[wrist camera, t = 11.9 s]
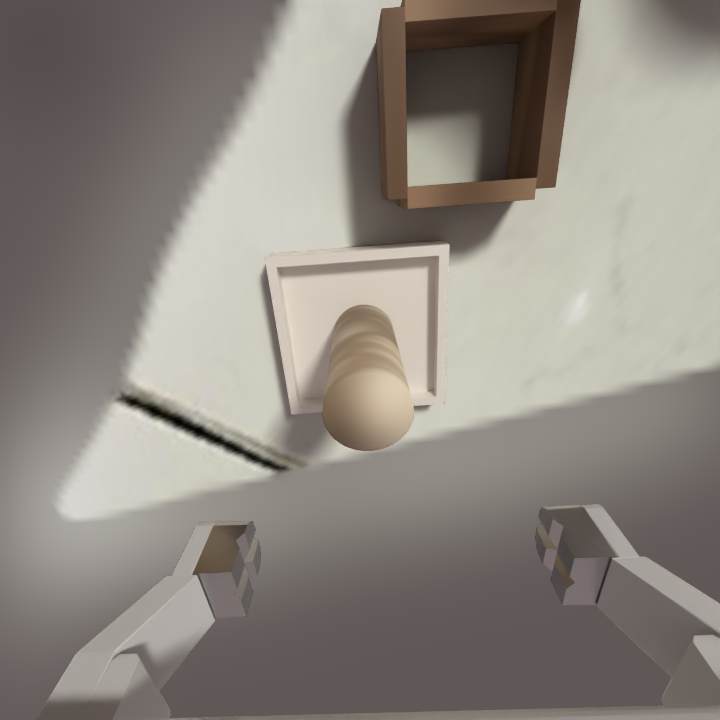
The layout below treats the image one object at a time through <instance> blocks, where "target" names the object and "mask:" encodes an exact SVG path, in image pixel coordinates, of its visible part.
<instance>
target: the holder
mask: <svg viewBox="0 0 720 720" xmlns="http://www.w3.org/2000/svg"><path fill="white" fill-rule="evenodd" d="M580 2H581V0H402V3H401V7H395V8H383V9H381V15H380V21H379V27H378V32H377V38H376V57H377V82H378V107H379V133H380V158H381V183H382V198H384V199H387V200H391V199H399V206H401V207H404V208H407V209H412V208H426V207H439V206H452V205H466V204H479V203H493V202H506V201H520V200H533V199H534V198H535V190H536V189H538V188H552V187H555V186H556V179H557V171H558V164H559V157H560V149H561V142H562V135H563V127H564V120H565V113H566V105H567V98H568V90H569V83H570V76H571V68H572V61H573V54H574V46H575V39H576V32H577V24H578V17H579V9H580ZM510 43H518V55H517V66H516V78H515V89H514V101H513V113H512V124H511V136H510V148H509V159H508V171H507V180H494V181H480V182H467V183H453V184H440V185H427V186H413V187H407V114H406V52H407V51H420V50H433V49H446V48H458V47H471V46H484V45H497V44H510Z"/></svg>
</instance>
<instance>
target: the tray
mask: <svg viewBox="0 0 720 720" xmlns="http://www.w3.org/2000/svg"><path fill="white" fill-rule="evenodd" d="M449 249H450V244H448V243H446V242H445V241H430V242H416V243H403V244H389V245H375V246H362V247H348V248H335V249H321V250H307V251H294V252H280V253H270V254H269V255H268V256H267V257H265V263H266V269H267V274H268V280H269V286H270V292H271V298H272V304H273V310H274V315H275V321H276V327H277V333H278V339H279V345H280V351H281V357H282V362H283V368H284V374H285V380H286V386H287V392H288V398H289V403H290V409H291V414H306V413H320V412H322V410H323V402H324V396H325V389H326V382H327V376H328V369H329V362H330V356H331V349H332V342H333V335H334V329H335V324H336V322H337V320H338V318H339V317H340V315H341V314H342V313H343V312H345V311H346V310H347V309H349V308H351V307H353V306H357V305H371V306H374V307H377V308H379V309H380V310H382V311H383V312H384V313H385V314H386V315H387V316H388V317H389V319H390V321H391V323H392V326H393V330H394V334H395V338H396V341H397V345H398V349H399V353H400V356H401V360H402V364H403V368H404V371H405V375H406V379H407V383H408V386H409V390H410V394H411V398H412V401H413V405H414V406H420V405H434V404H445V379H446V347H447V314H448V281H449Z"/></svg>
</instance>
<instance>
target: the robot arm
mask: <svg viewBox="0 0 720 720" xmlns="http://www.w3.org/2000/svg"><path fill="white" fill-rule="evenodd" d="M539 519H540V520H541V523H542V524H541V525H539V526H538V527H537V528H536V536H535V539H536V547H537V550H538V554H539V556H540V559H541V561H542V563H543V565H544V566H546V567H547V568H548V569H549V570H551V571H552V576H551V582H552V584H553V587H554V588H555V591H556V593H557V595H558V597H559V599H560V601H561V603H562V605H597V606H596V607H597V608H598V609H599V610H600V611H601V612H602V613H603V614H604V615H605V616H607V617H608V618H609V619H610V620H611V621H612V622H613V623H614V624H615V625H616V626H617V627H618V628H619V629H620V630H622V631H623V632H624V633H625V634H626V635H627V636H628V637H629V638H630V639H631V640H632V641H634V643H635V644H637V645H638V646H639V647H640V648H641V649H642V650H643V651H644V652H645V653H646V654H647V655H648V656H650V657H651V658H652V659H653V660H654V661H655V662H656V663H657V664H658V665H659V666H660V667H661V668H662V669H663V670H664V671H665V672H667V673H668V674H669V675H670V676H671V677H672V678H671V680H670V682H669V684H668V686H667V688H666V690H665V692H664V694H663V697H662V699H661V700H662V702H663V704H664V706H643V707H605V708H604V707H603V708H602V707H601V708H565V709H564V708H561V709H524V710H481V711H442V712H405V713H403V712H402V713H366V714H365V713H364V714H324V715H286V716H247V717H211V718H210V717H208V718H172V719H171V718H169V717H170V714H171V712H170V710H169V707H168V705H167V704H166V702H165V700H164V698H163V697H162V695H161V693H160V692H159V690H160V689H161V688H162V686H163V685H164V684H165V683H166V682H167V680H168V679H169V678H170V677H171V675H172V674H173V673H174V671H175V670H176V669H177V668H178V666H179V665H180V664H181V663H182V661H183V660H184V659H185V658H186V656H187V655H188V654H189V653H190V651H191V650H192V649H193V648H194V647H195V645H196V644H197V643H198V642H199V640H200V639H201V638H202V637H203V635H204V634H205V633H206V632H207V630H208V629H209V628H210V626H211V625H212V624H213V623H214V622H215V619H219V618H233V617H246V615H247V612H248V608H249V605H250V601H251V598H252V594H253V590H252V587H251V582H252V581H253V580H254V579H255V578H256V577H257V575H258V571H259V567H260V559H261V549H260V544H259V540H257V539H256V538H255V537H254V534H255V530H256V529H255V526H254V523H253V521H223V522H222V521H221V522H200V523H199V524H198V525H197V526H196V527H195V529H194V531H193V533H192V535H191V537H190V539H189V541H188V543H187V545H186V547H185V549H184V551H183V553H182V555H181V558H180V559H179V561H178V564H177V565H176V567H175V569H174V572H173V574H172V576H166V577H165V578H163V579H162V580H161V581H160V582H159V583H157V584H156V585H155V586H154V587H153V588H152V589H151V590H149V591H148V592H147V593H146V594H145V595H144V596H143V597H141V598H140V599H139V600H138V601H137V602H135V603H134V604H133V605H132V606H131V607H130V608H128V609H127V610H126V611H125V612H124V613H123V614H122V615H121V616H119V617H118V618H117V619H116V620H115V621H114V622H112V623H111V624H110V625H109V626H108V627H106V628H105V629H104V630H103V631H102V632H101V633H100V634H98V635H97V636H96V637H95V638H94V639H92V640H91V641H90V642H89V643H88V644H87V645H86V646H84V647H83V648H82V649H81V650H80V651H79V652H77V653H76V655H75V656H74V658H73V660H72V661H71V663H70V665H69V666H68V668H67V670H66V671H65V673H64V674H63V676H62V678H61V679H60V681H59V683H58V684H57V686H56V687H55V689H54V691H53V693H52V694H51V696H50V697H49V699H48V701H47V702H46V704H45V706H44V707H43V709H42V710H41V712H40V714H39V716H38V717H37V719H36V720H720V604H719V603H718V602H716V601H715V600H713V599H712V598H710V597H709V596H707V595H705V594H704V593H702V592H701V591H699V590H698V589H696V588H694V587H693V586H691V585H690V584H688V583H686V582H685V581H683V580H682V579H680V578H679V577H677V576H675V575H674V574H672V573H671V572H669V571H668V570H666V569H665V568H663V567H661V566H660V565H658V564H657V563H655V562H654V561H652V560H650V559H649V558H647V557H640V556H639V555H638V554H637V552H636V551H635V550H634V548H633V547H632V546H631V544H630V543H629V541H628V540H627V539H626V538H625V536H624V535H623V533H622V532H621V531H620V529H619V528H618V527H617V525H616V524H615V523H614V522H613V520H612V519H611V517H610V516H609V515H608V513H607V512H606V511H605V509H604V508H603V507H602V506H600V505H599V504H590V505H567V506H550V507H542V508H541V510H540V512H539Z"/></svg>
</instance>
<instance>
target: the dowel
mask: <svg viewBox="0 0 720 720" xmlns="http://www.w3.org/2000/svg"><path fill="white" fill-rule="evenodd" d="M322 415H323V421H324V424H325V427H326V429H327V430H328V432H329V433H330V435H331V436H332V437H333V438H334V439H335V440H337V441H338V442H339V443H341V444H342V445H344V446H346V447H349V448H352V449H355V450H361V451H374V450H380V449H383V448H386V447H389V446H391V445H393V444H394V443H396V442H398V441H399V440H400V439H401V438H402V437H403V436H404V435H405V434H406V433H407V431H408V430H409V428H410V426H411V424H412V421H413V417H414V405H413V401H412V398H411V394H410V390H409V386H408V383H407V379H406V375H405V371H404V368H403V364H402V360H401V356H400V353H399V349H398V345H397V341H396V338H395V334H394V330H393V326H392V323H391V321H390V319H389V317H388V316H387V315H386V314H385V313H384V312H383V311H382V310H380V309H379V308H377V307H374V306H371V305H357V306H353V307H351V308H349V309H347V310H346V311H345V312H343V313H342V314H341V315H340V317H339V318H338V320H337V322H336V324H335V329H334V335H333V342H332V349H331V356H330V362H329V369H328V376H327V382H326V389H325V396H324V402H323V410H322Z"/></svg>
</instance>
